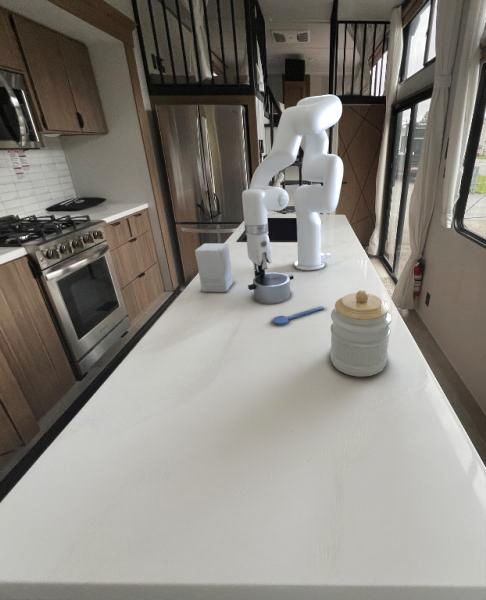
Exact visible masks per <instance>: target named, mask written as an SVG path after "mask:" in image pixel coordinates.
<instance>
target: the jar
mask: <svg viewBox="0 0 486 600" xmlns="http://www.w3.org/2000/svg"><path fill="white" fill-rule="evenodd" d="M389 309H390V308H389V305H388V303H387V302H386V301H384V300H383V299H382V298H380V296H377V295H374V294H371V293H368V292H367V290H363V289H361V290H358V291H357V292H352V293H349V294H346V295H344V296H342V297H339V299H337V300H336V302H335V304H334V307H333V309H332V311H331V312H330V318H331V321H332V322H331V325H330V332H331V334H330V335H331V339H330V340H331V341H330V344H331V345H330V349H329V350H330V351H329V352H330V353H329V355H330V359H331V363H332V365H333V366H334V368H335V369H336V370H338V371H339V372H341V373H343V374H346V375H349V376H353V377H370V376H374V375H376V374H379V373H380V372H382V371H383V370H384V368H385V367H386V364H387V361H388V355H389V352H388V347H389V339H390V336H391V329H390V327H389V326H390V324H391V323H392V320H393V317H392V315H391V313H390V312H389V311H390V310H389Z"/></svg>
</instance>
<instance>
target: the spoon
mask: <svg viewBox="0 0 486 600" xmlns="http://www.w3.org/2000/svg"><path fill="white" fill-rule="evenodd" d="M321 311H324V307H323V306H318V307H315V308H311V309H308V310H304V311H302V312H299V313H296V314H292V315H289V316H286V315H278V316H275V317H273V324H274V325H276V326H286V325H287V324H288V323H289V321H292V320H295V319H297V318H301V317H304V316H307V315H311V314H313V313H316V312H321Z"/></svg>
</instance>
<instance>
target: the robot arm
mask: <svg viewBox="0 0 486 600" xmlns="http://www.w3.org/2000/svg"><path fill="white" fill-rule="evenodd" d="M342 113H343V104H342V101H341V99H340V98H339V96H337V95H335V94H324V95H317V96H316V95H315V96H308V97H305V98H302V99H300V100H298V101H297V103H296V105H295V106H290V107H287V108H285V109H284V110H283V111H282V113H281V116H280V119H279V122H278V125H277V129H276V132H275V136H274V140H273V143H272V146H271V149H270V152H269V153H268V155H266V156H265V158H264V159H263V160H262V161H261V163H260V164H259V165H258V166H257V168H256V169H255V171H254V172H253V175H252V177H251V181H250V184H249V189H248V188H247V189H244V190H243V191H242V192H241V201H242V212H243V223H244V234H245V236H246V248H247V249H246V251H247V256H248V259H249V260H250V261H251V262H252V264H253V270H254V278H255V277H256V276H258V275H261V274H265V273H266V270H268V264H272V263H273V260H272V249H271V242H270V241H271V240H270V238H269V222H268V220H269V219H268V213H269V212H280V211H283V210H284V209H285V208H287V207H288V205H289V201H290V195H289V193H288V192H287V190H286V189H284V188H282V187H279V186H272V185H269V184H270V182H271V181H272V178H274V177H275V175H277V174H278V173H280V172H281V171H283V170H284V169H287V168H289V167H290V166H291V165H293V164H294V163H295V162H296V160H297V156H298V153H299V150H300V146H301V143H302V139H303V137H304V138H305V141H304V142H305V143H304V149H303V157H302V165H301V176H302V178H303V179H304V180H305V181H307V182H310V183H311V182H313V183H322V185H315V184H304V185H303V184H302V185H300V186H298V187H297V188H296V189H295V190H294V191H293V196H292V200H293V206H294V210H295V217H296V219H295V220H296V239H297V240H296V241H297V242H296V243H297V260H295V261H294V264H293V265H294V268H296V269H297V270H301V271H317V270H320V269H323V268H324V267H325V264H326V263H325V261H324V260H326V259H331V257H332V256H331V253H329V252H328V253H324V252H322V221H321V218H320V215H319V214H326V215H327V214H328V215H329V214H332V213H334V212H335V211H336V209H337V207H338V204H339V200H340V194H341V189H342V183H343V177H344V164H343V160H342V159H341V157H340V156H338V155H336V154H334V153H333V154H332V153H329V152H328V151H329V142H330V141H329V136H328V134H327V131H326V130H328V129H329V128H331V127H333V126H334V125H336V124H337V123H338V122H339V120H340V119H341V117H342Z"/></svg>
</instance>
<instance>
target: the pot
mask: <svg viewBox="0 0 486 600" xmlns="http://www.w3.org/2000/svg"><path fill="white" fill-rule="evenodd" d="M291 280H294V275H293V274H285V273H281V272H265V274H261V275H258V276H256V277H255V276H254V277H253V279H252V284H248V285H247V289H248V290H249V291H253V297H254V300H255V301H257V302H258V303H261V304H266V305H272V304H274V305H275V304H280V303H283V302H285V301H287V300H289V299H290V297H291Z"/></svg>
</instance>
